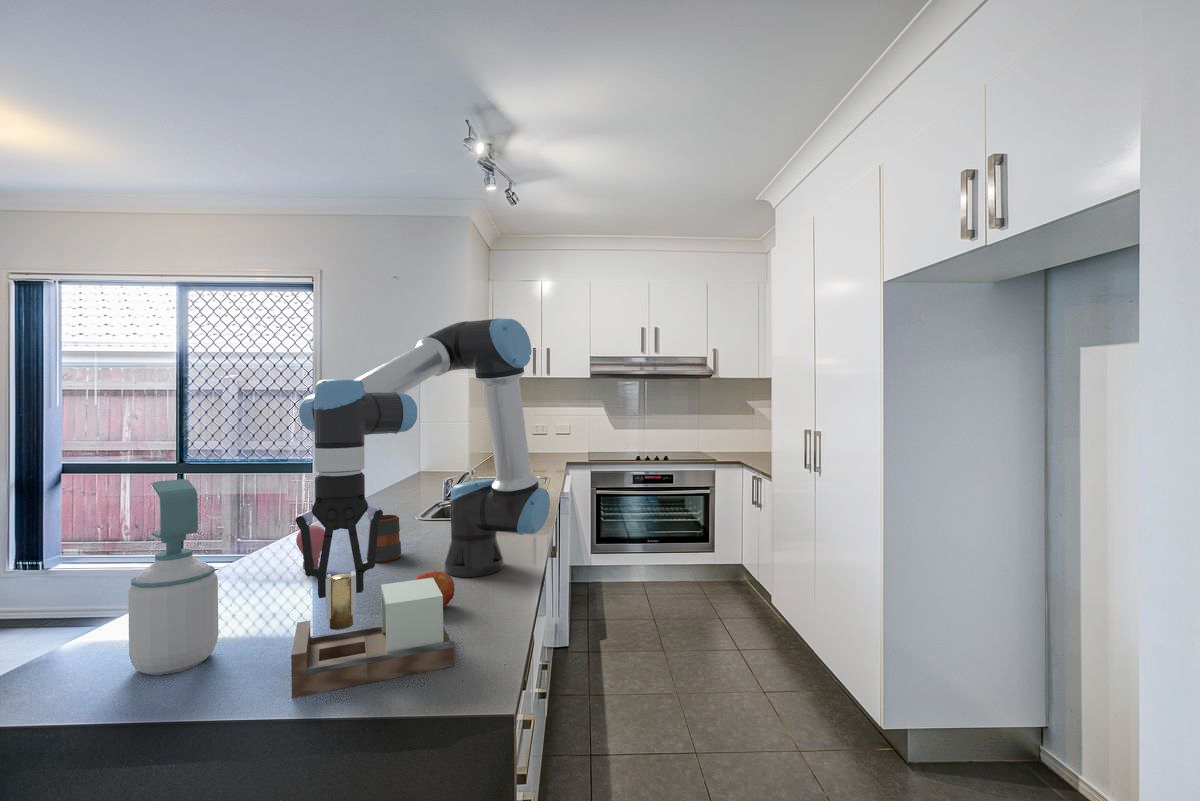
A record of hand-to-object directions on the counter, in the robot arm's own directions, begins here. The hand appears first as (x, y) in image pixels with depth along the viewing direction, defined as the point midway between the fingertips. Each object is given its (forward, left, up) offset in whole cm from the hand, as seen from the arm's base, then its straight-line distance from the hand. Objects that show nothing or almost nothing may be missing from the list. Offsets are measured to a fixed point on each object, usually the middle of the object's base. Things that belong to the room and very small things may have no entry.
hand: (341, 614), depth 95 cm
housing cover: (-11, 0, -6) cm, 13 cm away
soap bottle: (+26, -15, -9) cm, 31 cm away
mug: (-12, -70, -9) cm, 72 cm away
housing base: (-5, 0, -9) cm, 10 cm away
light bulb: (+7, -65, -9) cm, 66 cm away
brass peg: (0, 0, -2) cm, 2 cm away
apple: (-18, -22, -9) cm, 30 cm away
